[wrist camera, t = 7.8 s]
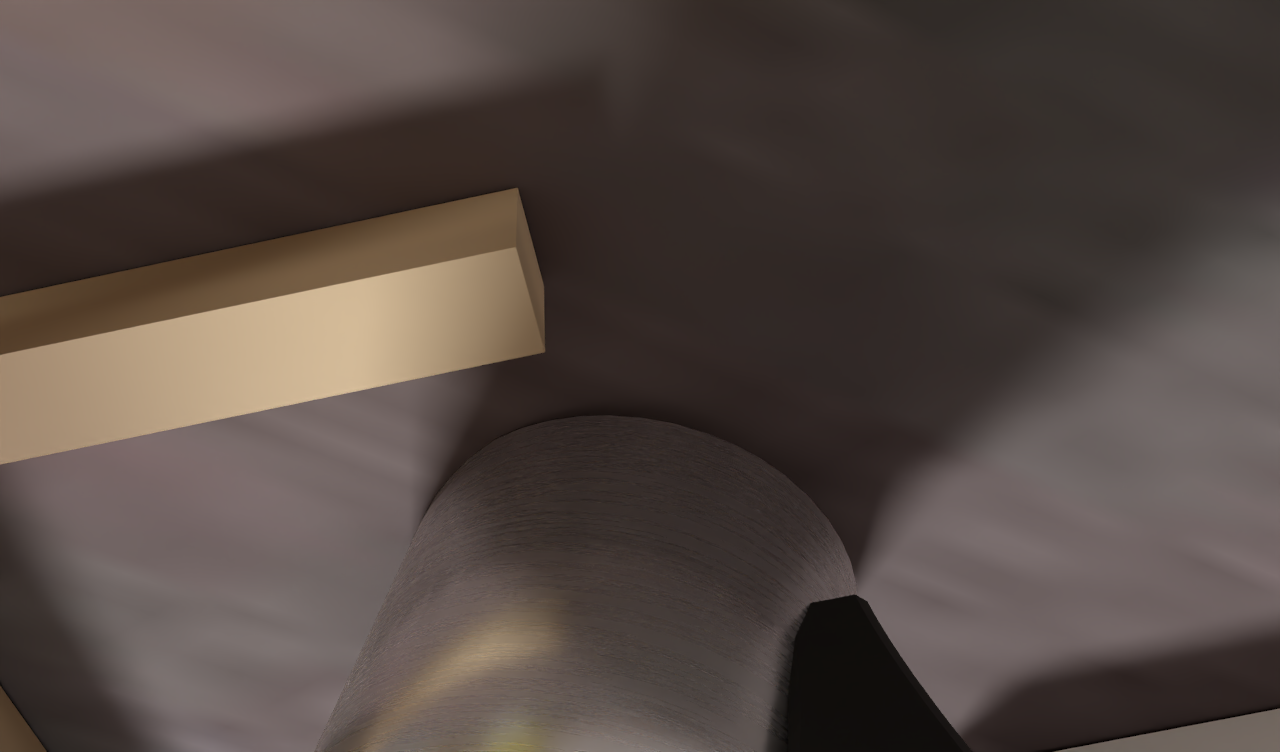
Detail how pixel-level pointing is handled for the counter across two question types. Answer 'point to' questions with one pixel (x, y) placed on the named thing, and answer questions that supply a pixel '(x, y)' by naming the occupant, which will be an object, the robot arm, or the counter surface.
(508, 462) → the billet
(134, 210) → the counter surface
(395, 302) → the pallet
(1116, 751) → the button housing
